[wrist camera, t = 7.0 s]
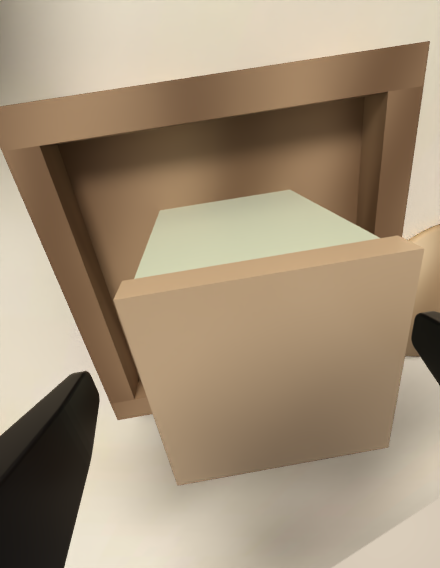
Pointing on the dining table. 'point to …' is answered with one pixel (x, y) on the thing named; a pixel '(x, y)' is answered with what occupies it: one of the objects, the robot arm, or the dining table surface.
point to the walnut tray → (205, 168)
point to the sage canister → (268, 333)
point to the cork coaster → (426, 278)
